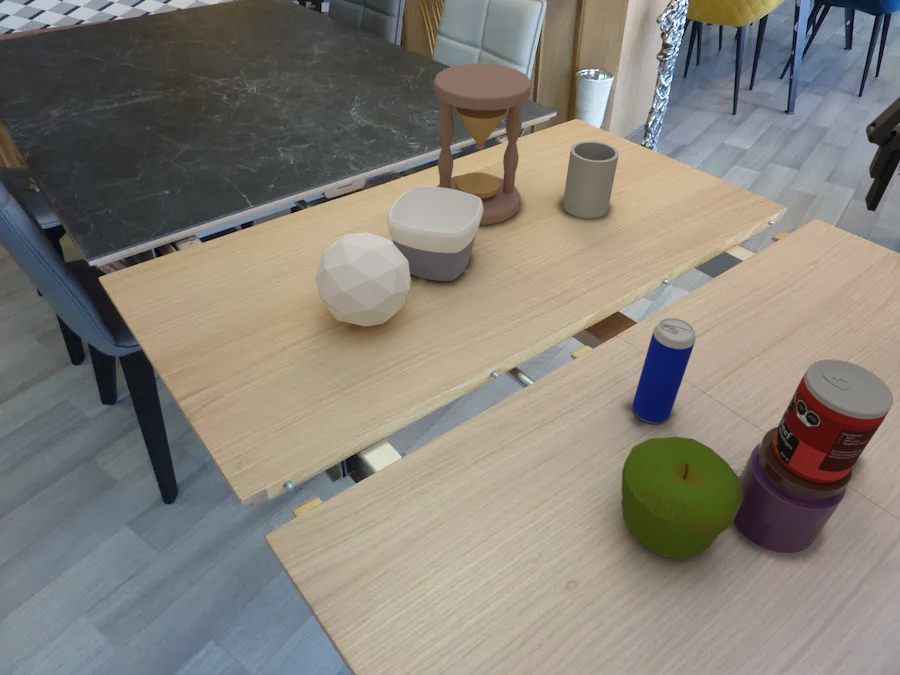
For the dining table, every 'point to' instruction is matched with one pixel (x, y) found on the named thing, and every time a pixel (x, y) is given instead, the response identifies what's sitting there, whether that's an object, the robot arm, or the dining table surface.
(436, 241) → the bowl
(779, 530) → the jar
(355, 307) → the geometric shape
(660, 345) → the beverage can
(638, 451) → the apple
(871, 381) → the canned food
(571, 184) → the cup
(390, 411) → the dining table surface
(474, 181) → the hourglass
